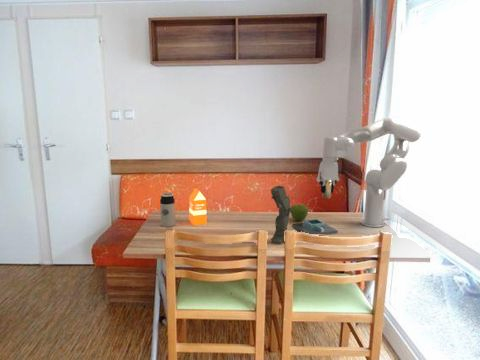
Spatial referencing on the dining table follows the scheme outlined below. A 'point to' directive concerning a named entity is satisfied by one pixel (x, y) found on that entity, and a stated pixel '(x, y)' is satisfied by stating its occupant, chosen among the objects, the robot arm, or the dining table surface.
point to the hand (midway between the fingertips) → (326, 192)
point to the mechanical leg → (280, 213)
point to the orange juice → (197, 208)
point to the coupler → (327, 189)
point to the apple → (299, 212)
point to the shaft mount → (314, 227)
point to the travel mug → (167, 209)
